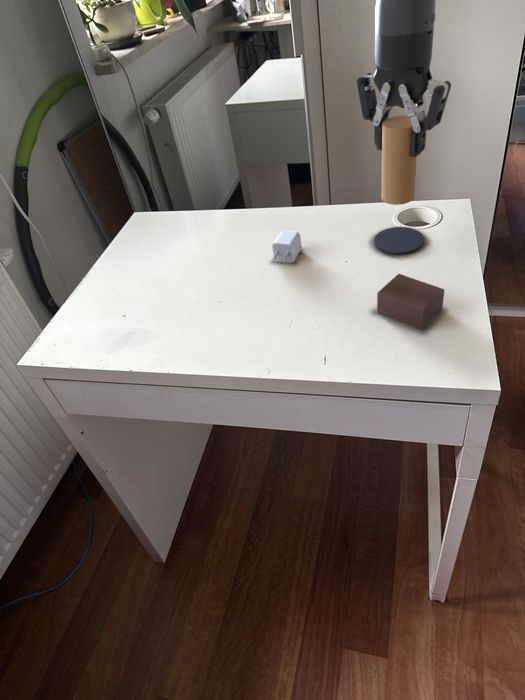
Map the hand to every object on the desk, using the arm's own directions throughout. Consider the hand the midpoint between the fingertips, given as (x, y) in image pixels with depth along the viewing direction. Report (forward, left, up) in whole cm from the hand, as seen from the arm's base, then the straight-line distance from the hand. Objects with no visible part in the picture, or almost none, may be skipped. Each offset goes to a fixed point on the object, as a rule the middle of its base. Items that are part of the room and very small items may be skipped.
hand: (399, 151), depth 80 cm
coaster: (+1, -6, -20) cm, 21 cm away
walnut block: (-5, +14, -20) cm, 25 cm away
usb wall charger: (+20, +3, -20) cm, 28 cm away
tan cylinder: (-1, -4, -6) cm, 7 cm away
